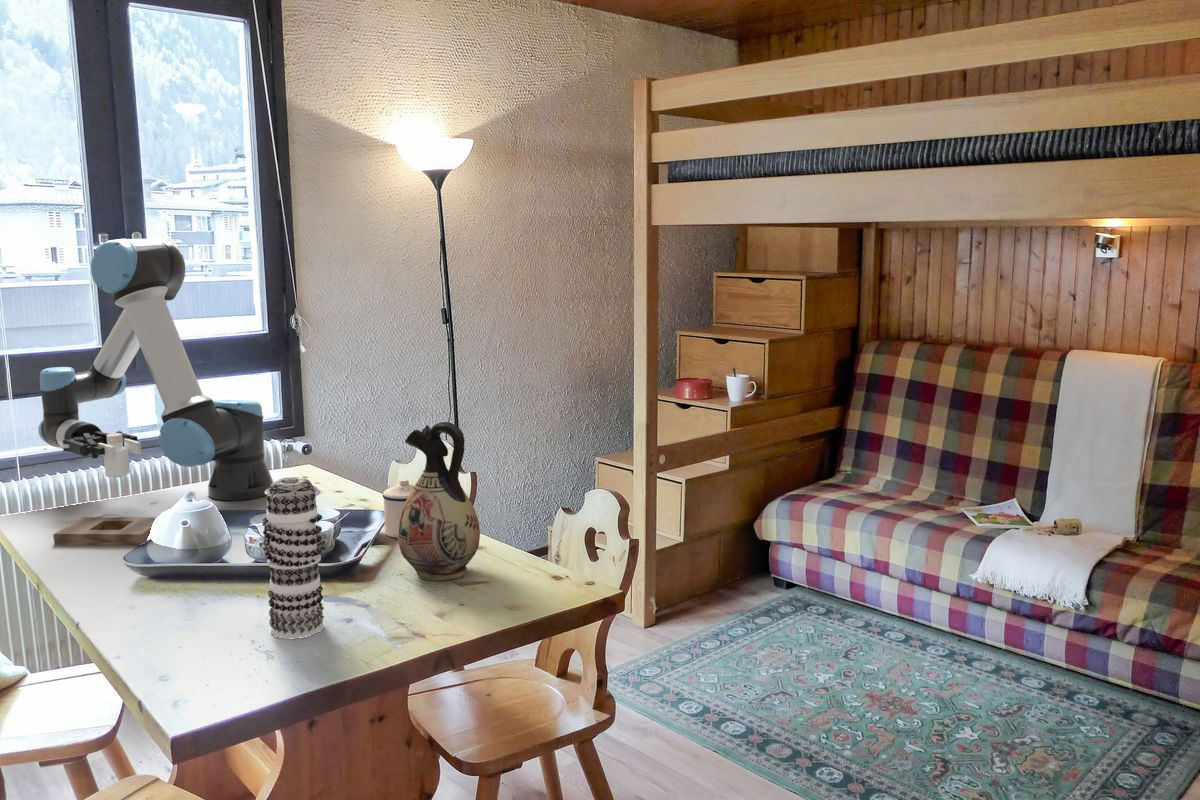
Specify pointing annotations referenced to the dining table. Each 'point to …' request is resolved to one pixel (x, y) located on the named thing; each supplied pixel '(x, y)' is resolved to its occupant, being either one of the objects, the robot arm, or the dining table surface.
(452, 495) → the ceramic jug
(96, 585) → the dining table surface
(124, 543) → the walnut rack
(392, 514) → the teacup with lid
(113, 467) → the salt shaker
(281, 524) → the decorative candle
